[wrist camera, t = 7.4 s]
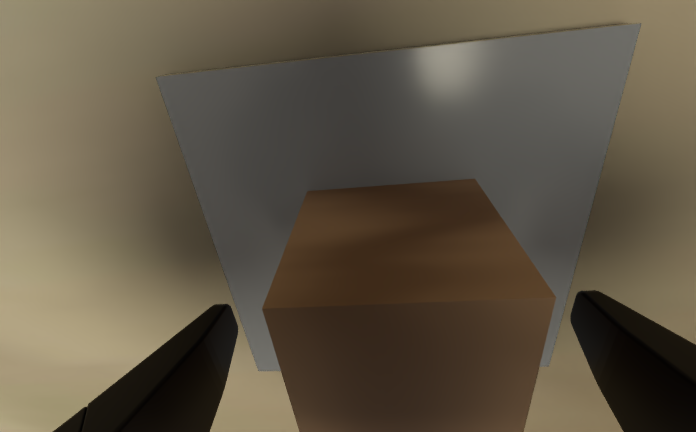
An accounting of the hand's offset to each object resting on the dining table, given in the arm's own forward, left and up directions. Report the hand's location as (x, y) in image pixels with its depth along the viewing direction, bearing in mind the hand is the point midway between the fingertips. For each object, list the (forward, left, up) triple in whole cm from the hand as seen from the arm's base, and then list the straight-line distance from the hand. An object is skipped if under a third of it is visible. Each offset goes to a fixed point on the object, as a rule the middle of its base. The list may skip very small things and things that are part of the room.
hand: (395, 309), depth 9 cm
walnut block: (0, 0, -3) cm, 3 cm away
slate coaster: (0, 0, -3) cm, 3 cm away
